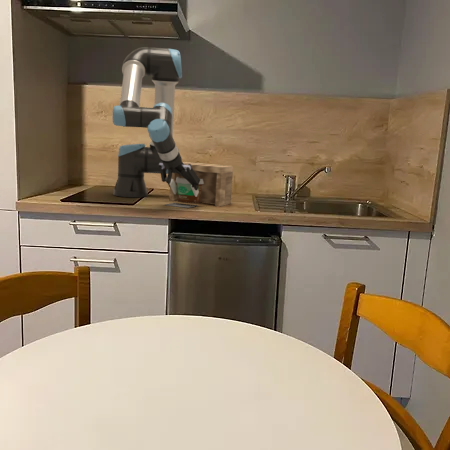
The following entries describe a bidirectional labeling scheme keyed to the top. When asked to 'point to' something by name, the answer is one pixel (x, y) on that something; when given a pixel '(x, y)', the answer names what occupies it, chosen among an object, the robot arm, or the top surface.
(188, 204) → the grey mat
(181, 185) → the food container
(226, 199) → the open oak shelf box
